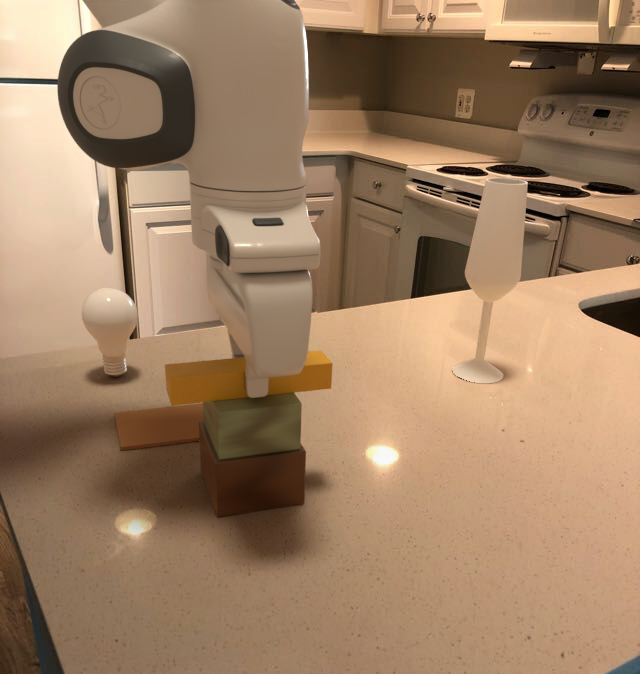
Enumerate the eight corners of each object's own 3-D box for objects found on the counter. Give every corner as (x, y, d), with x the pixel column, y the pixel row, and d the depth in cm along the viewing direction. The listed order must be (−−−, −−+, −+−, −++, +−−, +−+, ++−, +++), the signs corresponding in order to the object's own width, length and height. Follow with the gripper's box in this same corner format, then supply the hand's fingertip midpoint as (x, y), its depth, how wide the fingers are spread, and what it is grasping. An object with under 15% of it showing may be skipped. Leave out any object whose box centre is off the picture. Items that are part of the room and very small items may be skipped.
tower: (217, 517, 62) (213, 415, 57) (200, 471, 68) (196, 376, 64) (304, 503, 64) (307, 404, 60) (280, 460, 71) (281, 368, 66)
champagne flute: (441, 371, 93) (465, 179, 81) (471, 359, 97) (498, 174, 86) (484, 388, 88) (515, 187, 77) (513, 374, 93) (548, 182, 81)
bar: (171, 406, 58) (169, 378, 57) (166, 391, 61) (164, 364, 60) (331, 388, 63) (332, 362, 61) (320, 375, 65) (321, 350, 64)
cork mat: (120, 450, 71) (120, 447, 71) (114, 415, 78) (114, 412, 78) (256, 433, 76) (256, 430, 75) (239, 402, 82) (239, 399, 82)
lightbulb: (102, 390, 84) (92, 300, 78) (80, 372, 88) (69, 286, 83) (151, 378, 87) (144, 291, 82) (128, 361, 91) (120, 278, 86)
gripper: (186, 197, 63) (193, 344, 69) (237, 255, 46) (240, 442, 52) (255, 196, 65) (256, 339, 71) (329, 251, 48) (321, 432, 54)
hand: (249, 383), depth 61 cm, fingers closed on bar, 3 cm apart
